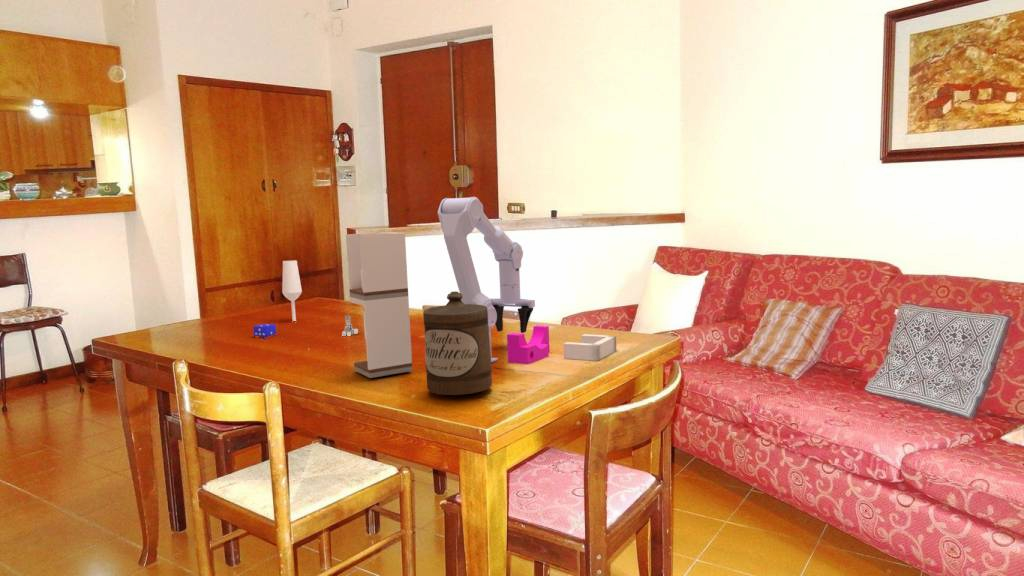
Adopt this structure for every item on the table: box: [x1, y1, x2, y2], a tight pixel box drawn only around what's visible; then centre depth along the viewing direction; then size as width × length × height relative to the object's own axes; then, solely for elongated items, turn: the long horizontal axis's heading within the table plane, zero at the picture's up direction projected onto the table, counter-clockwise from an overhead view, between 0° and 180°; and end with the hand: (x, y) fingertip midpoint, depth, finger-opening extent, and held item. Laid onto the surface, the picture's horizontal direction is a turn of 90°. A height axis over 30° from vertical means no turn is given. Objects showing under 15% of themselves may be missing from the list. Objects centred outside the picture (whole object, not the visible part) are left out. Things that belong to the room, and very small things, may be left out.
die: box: [252, 323, 277, 337], centre depth 229 cm, size 5×5×5 cm
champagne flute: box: [281, 259, 303, 322], centre depth 251 cm, size 7×7×24 cm
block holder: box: [563, 333, 617, 362], centre depth 190 cm, size 14×10×4 cm
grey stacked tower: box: [345, 231, 413, 379], centre depth 178 cm, size 11×11×35 cm
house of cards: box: [341, 315, 360, 337], centre depth 227 cm, size 9×9×8 cm
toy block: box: [506, 324, 550, 365], centre depth 189 cm, size 15×6×8 cm, turn 146°
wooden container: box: [422, 290, 493, 396], centre depth 160 cm, size 15×15×22 cm
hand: (511, 331), depth 201 cm, fingers open, 7 cm apart
